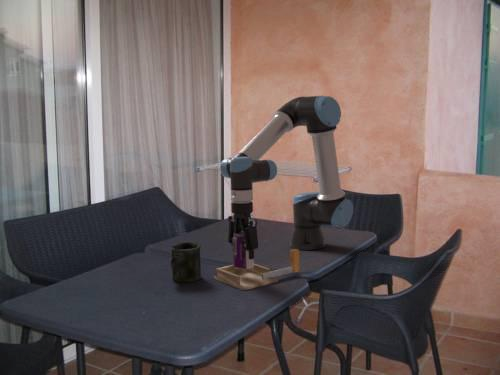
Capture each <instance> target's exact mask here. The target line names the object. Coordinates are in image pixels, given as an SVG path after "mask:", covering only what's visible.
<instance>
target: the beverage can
mask: <svg viewBox="0 0 500 375" xmlns="http://www.w3.org/2000/svg"><path fill="white" fill-rule="evenodd" d="M246 249H247V244H246V240H245V236H244V232H243V231H241V232H240V233H234V237H233V250H232V265H233V266H234V267H236V268H239V269H247V268H246Z"/></svg>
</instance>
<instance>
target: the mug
mask: <svg viewBox="0 0 500 375" xmlns="http://www.w3.org/2000/svg"><path fill="white" fill-rule="evenodd" d="M201 248H202V245H201V244H200V243H197V242H191V241H190V242H179V243H174V244H171V245H170V248H169V249H170V250H171V260H170V268H171V272H172V280H174V281H175V282H178V283H191V282H195V281H198V280H200V278H201V277H202V270H201Z"/></svg>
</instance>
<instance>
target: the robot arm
mask: <svg viewBox="0 0 500 375" xmlns="http://www.w3.org/2000/svg"><path fill="white" fill-rule="evenodd" d="M340 118H342V110H341V107H340V103H339V102H338V101H337V99H335V98H334V97H333V96H330V95H329V96H327V95H314V96H313V95H311V96H299V97H294V98H293V99H291V100H289V101H288V102H286V103H284V104H283V105H282V106H281V107H279V108H278V109H277V111H275V112H274V113H273V115H272V119H271V120H270V121H269V122H268V123H267V124H266V125H264V127H263V128H261V129H260V131H259V132H258V133H256V135H254V137H252V139H251V140H249V141H248V142H247V144H245V145H244V146H243V147H242V148H241V150H239V151H238V152H237V153H236V154H235V155H234V156H233V157H228V158H224V159H223V160H222V161H221V163H220V166H219V170H220V173H221V175H222V177H224V178H225V179H230V193H231V194H230V200H231V202H230V206H231V209H230V211H231V213H232V214H233V215H228V216H227V218H228V237H227V238H228V239H227V242H228V243H229V244H230V245H231V247H232V248H231V249H232V251H233V237H234V233H240V232H244V236H245V240H246V244H247V249H246V268H247V269H249V268H253V267H254V264H255V260H254V259H255V250H257V249H259V239H258V229H257V228H258V227H257V226H258V221H257V219H254V220H253V219H252V213H253V211H254V203H253V200H254V195H253V190H254V189H253V184H255V183H261V182H268V181H272V180H274V179H275V178H276V177H277V175H278V167H277V164H276V162H275V161H273V160H272V159H262V160H261V158H262V157H263V156H264V155H265V154H266V153H267V152H268V151H269V150H270V149H271V148H272V147H273V146H274V145H275V144H276V143H278V141H279V140H280V139H281V138H282V137H283V136H284V135H285V134H286V133H289V132H290V133H291V131H293V130H294V128H297V127H301V126H302V127H303V126H304V127H306V132H307V134H308V135H310V136H311V139H312V147H313V148H312V149H313V154H314V160H315V166H316V174H317V175H316V176H317V180H318V190H319V191H312V192H304V193H303V192H302V193H298V194H296V195H294V197H293V203H292V208H293V209H292V210H293V213H292V214H293V231H292V233H291V238H290V240H289V247H290V248H291V249H298V250H299V251H300V250H301V251H314V250H315V251H316V250H321V249H323V248H326V240H325V237H324V233H323V231H322V226H328V227H332V228H344V227H346V226H347V225H348V224H349V223H350V221H351V220H352V217H353V214H354V205H353V202H352V200H350V199H347V198H346V192H345V191H344V190H342V188H341V179H340V174H339V166H338V158H337V151H336V143H335V142H336V141H335V136H334V132H335V131H336V130H337V125H338V124H339V123H340V121H341V119H340Z"/></svg>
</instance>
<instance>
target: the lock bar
mask: <svg viewBox="0 0 500 375" xmlns="http://www.w3.org/2000/svg"><path fill="white" fill-rule="evenodd" d="M289 252H290V255H289V256H290V257H289V258H290V266H287V267H283V268H279V269H275V270H270V272H266V273H262V279H263V280H265V279H269V278H277V277H279V276H280V277H281V276H283V275H287V274H292V273H293V274H294V273H299V272H300V249H294V248H291V249H290V250H289Z"/></svg>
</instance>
